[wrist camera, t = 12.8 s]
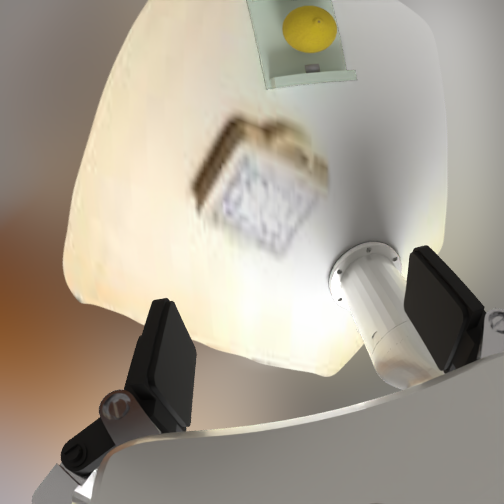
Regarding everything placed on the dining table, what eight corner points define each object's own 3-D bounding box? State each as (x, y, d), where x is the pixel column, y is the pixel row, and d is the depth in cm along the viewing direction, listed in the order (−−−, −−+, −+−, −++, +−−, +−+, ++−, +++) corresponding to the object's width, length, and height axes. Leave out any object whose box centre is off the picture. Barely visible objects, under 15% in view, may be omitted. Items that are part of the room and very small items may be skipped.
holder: (345, 80, 31) (361, 80, 27) (266, 89, 32) (271, 88, 27) (325, -9, 25) (338, -21, 20) (245, -3, 25) (247, -17, 21)
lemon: (294, 7, 25) (310, -13, 18) (332, 34, 27) (357, 21, 20) (268, 39, 28) (277, 24, 21) (307, 65, 29) (327, 59, 22)
